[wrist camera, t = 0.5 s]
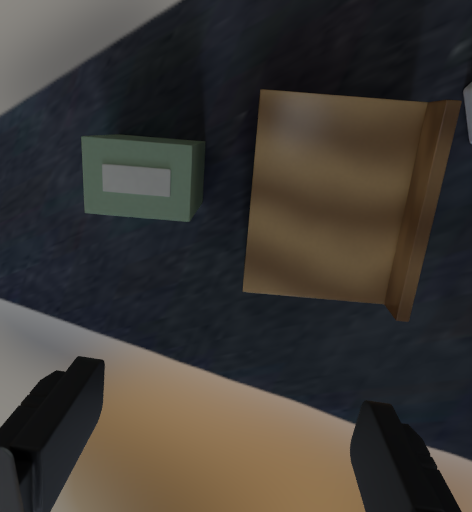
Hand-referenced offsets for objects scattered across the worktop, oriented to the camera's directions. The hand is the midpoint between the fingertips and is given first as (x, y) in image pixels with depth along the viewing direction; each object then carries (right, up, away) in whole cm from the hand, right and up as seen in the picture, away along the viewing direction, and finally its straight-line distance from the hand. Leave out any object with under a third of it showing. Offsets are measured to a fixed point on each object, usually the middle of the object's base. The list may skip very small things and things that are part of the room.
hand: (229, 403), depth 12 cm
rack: (+8, +10, +24) cm, 28 cm away
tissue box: (-7, +13, +24) cm, 28 cm away
